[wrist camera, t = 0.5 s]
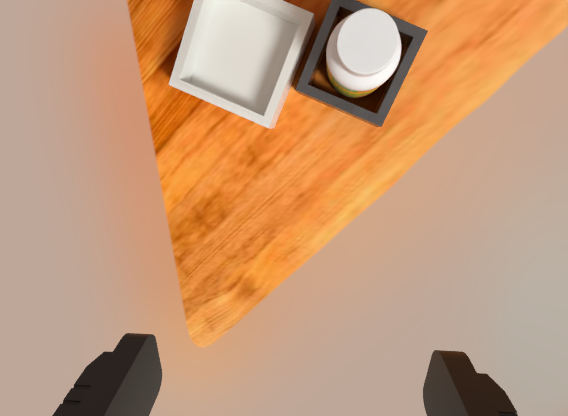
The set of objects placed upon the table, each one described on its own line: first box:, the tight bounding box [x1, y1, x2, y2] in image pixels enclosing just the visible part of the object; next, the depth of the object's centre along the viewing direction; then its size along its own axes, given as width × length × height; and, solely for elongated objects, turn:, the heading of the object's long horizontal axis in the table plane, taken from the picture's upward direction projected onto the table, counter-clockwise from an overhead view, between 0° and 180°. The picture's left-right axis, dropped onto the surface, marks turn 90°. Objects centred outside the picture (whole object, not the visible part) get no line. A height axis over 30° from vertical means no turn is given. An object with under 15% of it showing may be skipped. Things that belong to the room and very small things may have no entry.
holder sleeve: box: [296, 0, 428, 127], centre depth 30 cm, size 8×8×3 cm
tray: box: [169, 0, 315, 128], centre depth 31 cm, size 10×10×3 cm
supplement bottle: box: [326, 8, 401, 98], centre depth 27 cm, size 5×5×10 cm
